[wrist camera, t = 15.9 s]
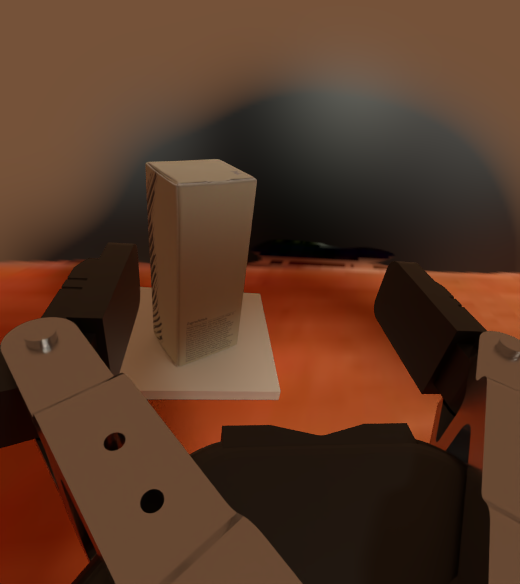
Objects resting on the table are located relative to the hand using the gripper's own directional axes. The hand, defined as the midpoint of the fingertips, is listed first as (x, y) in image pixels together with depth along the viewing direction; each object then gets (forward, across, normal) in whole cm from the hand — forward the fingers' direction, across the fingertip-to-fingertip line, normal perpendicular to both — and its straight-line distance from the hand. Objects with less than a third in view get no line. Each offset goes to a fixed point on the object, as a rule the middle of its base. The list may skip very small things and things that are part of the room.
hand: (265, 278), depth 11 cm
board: (+12, +3, +13) cm, 18 cm away
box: (+11, +2, +13) cm, 17 cm away
